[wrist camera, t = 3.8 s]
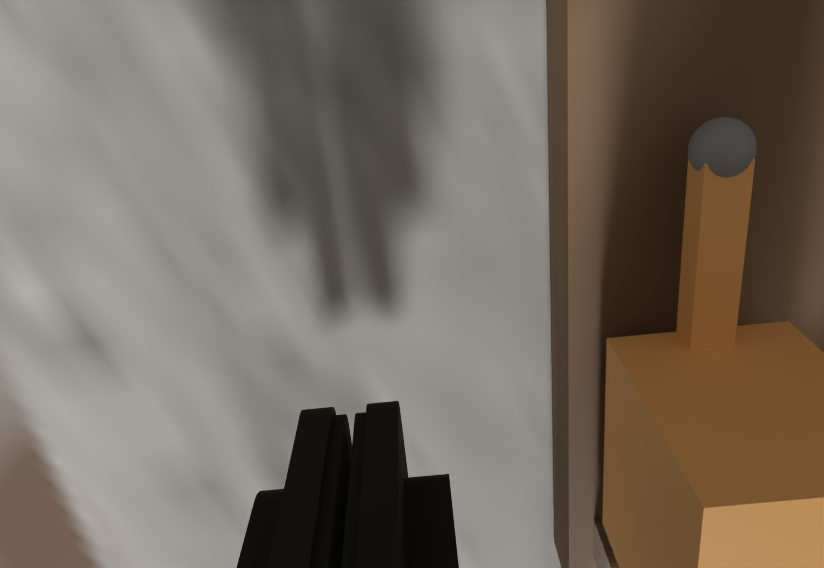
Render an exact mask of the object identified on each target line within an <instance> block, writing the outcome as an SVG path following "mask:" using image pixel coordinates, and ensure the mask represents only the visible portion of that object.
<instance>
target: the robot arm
mask: <svg viewBox="0 0 824 568" xmlns="http://www.w3.org/2000/svg"><path fill="white" fill-rule="evenodd" d="M237 568H459V566H458V556H457V547H456V537H455V528H454V518H453V509H452V499H451V490H450V480H449V474H444V475H433V476H421V477H410V478H408V471H407V463H406V455H405V447H404V438H403V430H402V422H401V414H400V406H399V402H398V401H393V402H382V403H371V404H367V408H366V413H356V414H355V421H354V432H353V443H352V442H351V435H350V429H349V423H348V418H347V415H346V414H344V415H336V412H335V409H334V407H328V408H317V409H307V410H302V411H301V413H300V417H299V422H298V426H297V431H296V436H295V440H294V445H293V450H292V454H291V459H290V464H289V468H288V473H287V478H286V482H285V487H284V489H278V490H266V491H260V492H259V493H258V494H257V495H256V498H255V501H254V504H253V508H252V512H251V516H250V519H249V523H248V527H247V531H246V535H245V538H244V542H243V546H242V550H241V553H240V557H239V561H238V565H237Z"/></svg>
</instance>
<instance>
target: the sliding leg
mask: <svg viewBox="0 0 824 568" xmlns="http://www.w3.org/2000/svg"><path fill="white" fill-rule="evenodd" d="M756 149H757V144H756V138H755V136H754V133H753V132H752V130H751V129H750V128H749V126H748V125H746V124H745V123H744V122H742V121H741V120H738V119H736V118H732V117H718V118H714V119H711V120H709V121H707V122H705V123H703V124H702V125H701V126H700V127H699V128H698V129H697V130H696V131H695V132H694V134H693V135H692V137H691V139H690V142H689V145H688V170H687V184H686V198H685V213H684V227H683V241H682V256H681V270H680V284H679V299H678V313H677V327H676V332H667V333H656V334H646V335H635V336H624V337H614V338H607V345H606V388H605V432H604V475H603V518H602V523H603V526H604V528H605V531H606V534H607V536H608V539H609V542H610V545H611V547H612V550H613V553H614V555H615V558H616V561H617V563H618V566H619V568H824V352H823V351H821V350H820V349H819V348H818V347H817V346H816V345H815V344H814V343H813V342H811V341H810V340H809V339H808V338H807V337H806V336H805V335H804V334H802V333H801V332H800V331H799V330H798V329H797V328H796V327H795V326H794V325H792V324H791V323H790V322H789V321H784V322H774V323H763V324H752V325H742V326H737V320H738V311H739V302H740V293H741V284H742V275H743V266H744V257H745V248H746V239H747V230H748V221H749V211H750V202H751V193H752V184H753V175H754V166H755V155H756Z"/></svg>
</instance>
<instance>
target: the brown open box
mask: <svg viewBox="0 0 824 568" xmlns="http://www.w3.org/2000/svg"><path fill="white" fill-rule="evenodd" d="M547 53H548V124H549V195H550V266H551V337H552V408H553V479H554V542H555V546H556V549H557V553H558V557H559V560H560V564H561V567H562V568H597V567H596V564H595V561H594V558H593V541H594V520H602V518H603V475H604V432H605V388H606V345H607V338H614V337H624V336H635V335H646V334H656V333H667V332H676V327H677V313H678V299H679V284H680V270H681V256H682V241H683V227H684V213H685V198H686V184H687V170H688V145H689V142H690V139H691V137H692V135H693V134H694V132H695V131H696V130H697V129H698V128H699V127H700V126H701V125H702V124H703V123H705V122H707V121H709V120H711V119H714V118H718V117H732V118H736V119H738V120H741V121H742V122H744V123H745V124H746V125H748V126H749V128H750V129H751V130H752V132H753V133H754V136H755V138H756V144H757V149H756V155H755V166H754V175H753V184H752V193H751V202H750V211H749V221H748V230H747V239H746V248H745V257H744V266H743V275H742V284H741V293H740V302H739V311H738V320H737V326H742V325H752V324H763V323H774V322H784V321H789V322H790V323H791V324H792V325H794V326H795V327H796V328H797V329H798V330H799V331H800V332H801V333H802V334H804V335H805V336H806V337H807V338H808V339H809V340H810V341H811V342H813V343H814V344H815V345H816V346H817V347H818V348H819V349H820V350H821V351H823V352H824V0H547Z"/></svg>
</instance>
